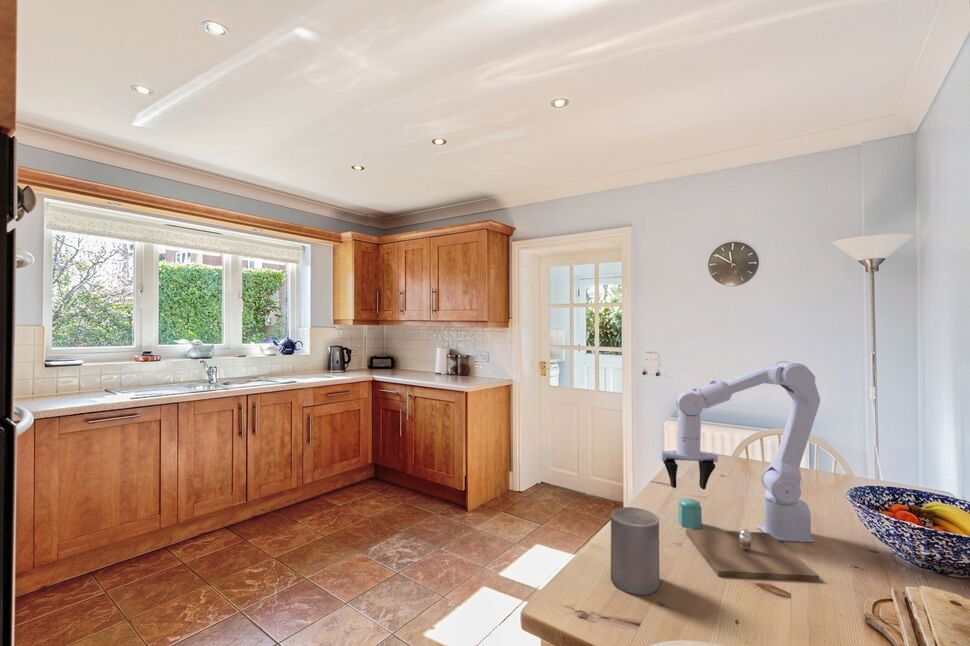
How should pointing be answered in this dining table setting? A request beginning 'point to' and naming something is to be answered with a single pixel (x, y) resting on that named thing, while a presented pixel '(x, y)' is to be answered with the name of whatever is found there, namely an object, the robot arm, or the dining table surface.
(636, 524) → the pillar candle
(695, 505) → the cap
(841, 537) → the dining table surface
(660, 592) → the dining table surface
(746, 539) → the stud
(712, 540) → the brown flat square slab
